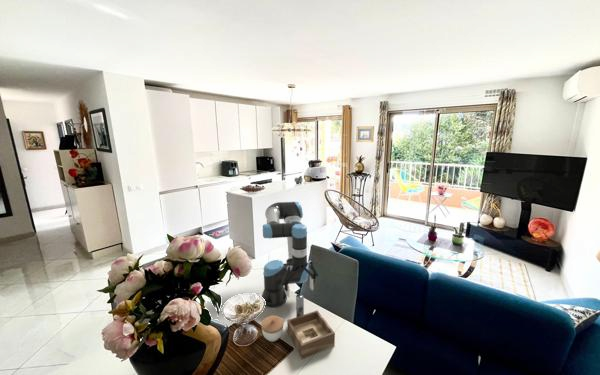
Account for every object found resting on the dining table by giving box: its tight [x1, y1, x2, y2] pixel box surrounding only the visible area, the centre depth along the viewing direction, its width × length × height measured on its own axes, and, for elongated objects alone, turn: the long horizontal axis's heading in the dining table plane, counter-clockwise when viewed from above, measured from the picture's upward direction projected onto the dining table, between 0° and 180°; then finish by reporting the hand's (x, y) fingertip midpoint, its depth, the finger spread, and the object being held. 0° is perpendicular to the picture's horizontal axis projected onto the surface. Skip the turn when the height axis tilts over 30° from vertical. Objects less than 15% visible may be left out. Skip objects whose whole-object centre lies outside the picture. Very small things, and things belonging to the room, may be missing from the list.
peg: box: [295, 293, 305, 318], centre depth 133 cm, size 4×4×14 cm
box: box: [286, 310, 336, 360], centre depth 120 cm, size 17×17×7 cm
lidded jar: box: [260, 315, 285, 342], centre depth 122 cm, size 11×11×9 cm
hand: (299, 292), depth 130 cm, fingers open, 13 cm apart
